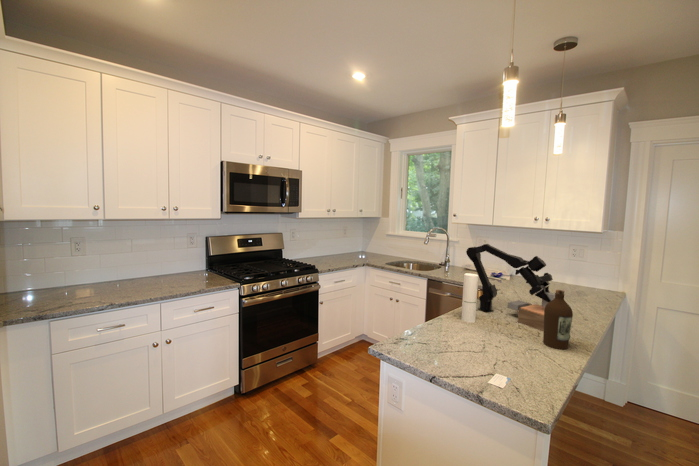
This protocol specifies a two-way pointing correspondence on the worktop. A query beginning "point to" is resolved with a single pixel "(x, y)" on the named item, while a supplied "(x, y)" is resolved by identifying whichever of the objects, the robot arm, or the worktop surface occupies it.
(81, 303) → the worktop surface
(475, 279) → the cylindrical container
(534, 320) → the frame
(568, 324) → the olive oil
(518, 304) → the trapdoor
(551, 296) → the stone
